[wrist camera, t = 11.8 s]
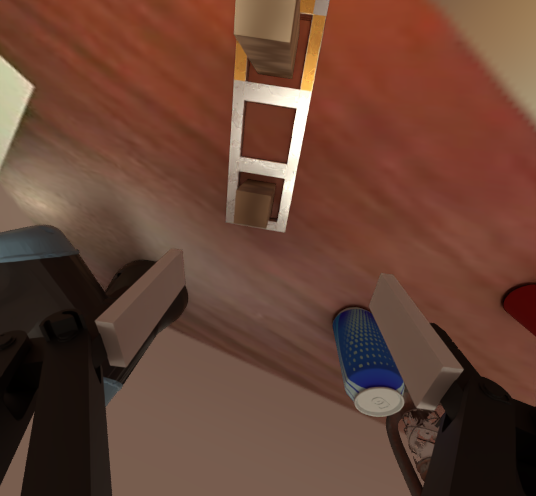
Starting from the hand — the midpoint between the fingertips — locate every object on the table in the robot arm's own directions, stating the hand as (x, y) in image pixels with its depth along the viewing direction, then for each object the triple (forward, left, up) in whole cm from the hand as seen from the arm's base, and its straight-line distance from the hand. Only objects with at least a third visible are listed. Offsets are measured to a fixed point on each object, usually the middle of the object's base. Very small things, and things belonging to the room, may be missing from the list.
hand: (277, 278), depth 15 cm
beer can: (+18, -23, -24) cm, 37 cm away
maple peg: (-4, +17, -24) cm, 29 cm away
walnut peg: (-4, -1, -24) cm, 24 cm away
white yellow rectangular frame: (-4, +8, -23) cm, 25 cm away
